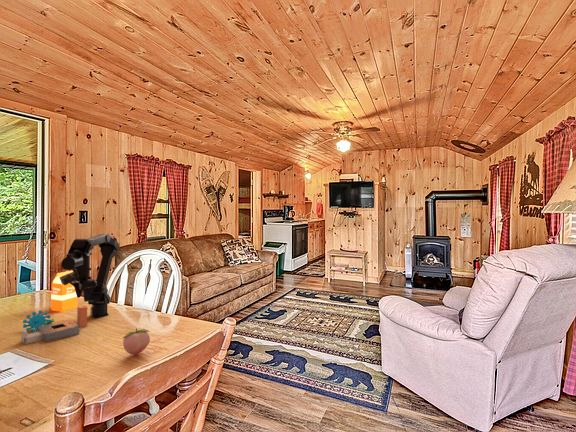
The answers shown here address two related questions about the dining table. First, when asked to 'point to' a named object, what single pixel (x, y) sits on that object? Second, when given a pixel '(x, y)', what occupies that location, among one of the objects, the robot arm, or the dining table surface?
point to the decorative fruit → (136, 341)
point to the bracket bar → (31, 337)
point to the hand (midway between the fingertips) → (82, 299)
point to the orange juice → (63, 294)
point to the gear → (37, 321)
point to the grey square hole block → (58, 330)
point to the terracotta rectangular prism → (82, 316)
